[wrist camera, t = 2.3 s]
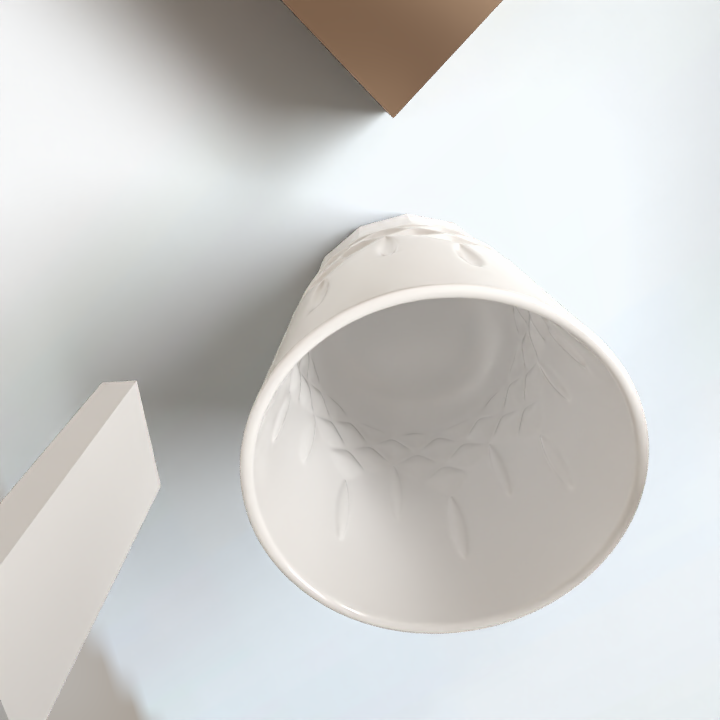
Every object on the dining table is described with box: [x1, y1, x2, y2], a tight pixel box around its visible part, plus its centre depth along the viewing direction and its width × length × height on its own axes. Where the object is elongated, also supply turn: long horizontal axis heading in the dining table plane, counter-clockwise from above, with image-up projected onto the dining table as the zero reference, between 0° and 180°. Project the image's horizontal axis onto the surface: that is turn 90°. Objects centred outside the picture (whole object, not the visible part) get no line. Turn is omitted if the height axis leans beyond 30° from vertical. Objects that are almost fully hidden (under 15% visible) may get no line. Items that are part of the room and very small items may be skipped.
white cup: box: [240, 214, 649, 634], centre depth 17 cm, size 8×8×10 cm
